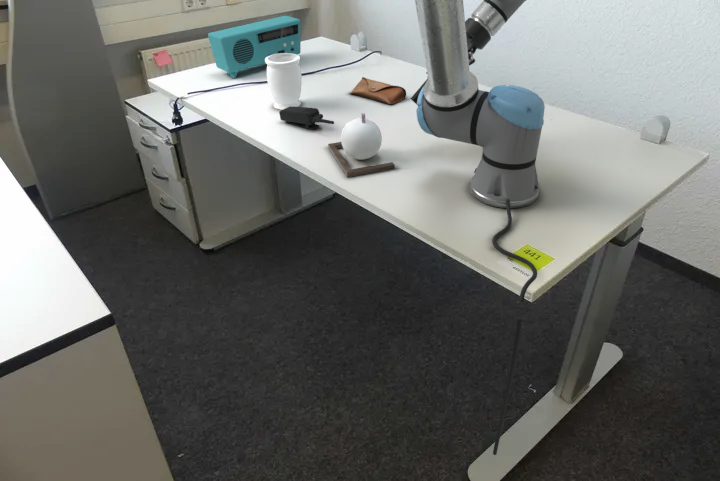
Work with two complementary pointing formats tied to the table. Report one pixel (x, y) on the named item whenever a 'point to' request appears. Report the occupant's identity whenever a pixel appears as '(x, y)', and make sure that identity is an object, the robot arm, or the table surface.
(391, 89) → the sunglasses case
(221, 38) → the radio
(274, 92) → the jar
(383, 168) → the bay
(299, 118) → the walkie-talkie
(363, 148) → the ornament
